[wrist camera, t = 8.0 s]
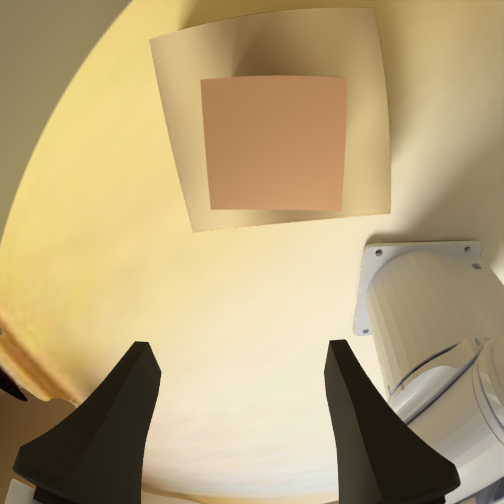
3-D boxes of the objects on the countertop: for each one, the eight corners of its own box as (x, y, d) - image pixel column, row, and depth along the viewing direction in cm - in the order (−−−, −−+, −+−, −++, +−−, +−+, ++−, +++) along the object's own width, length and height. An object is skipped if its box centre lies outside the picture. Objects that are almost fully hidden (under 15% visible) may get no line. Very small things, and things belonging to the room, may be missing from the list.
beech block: (354, 23, 13) (373, 8, 9) (370, 187, 18) (390, 213, 14) (177, 47, 14) (149, 39, 11) (209, 203, 19) (193, 232, 16)
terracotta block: (324, 80, 11) (346, 78, 7) (322, 167, 13) (340, 211, 9) (229, 81, 12) (200, 79, 8) (234, 167, 14) (210, 209, 10)
